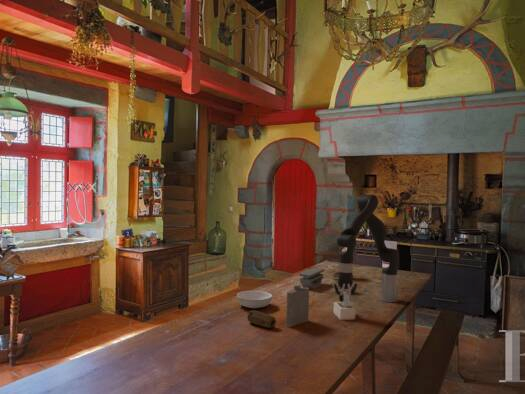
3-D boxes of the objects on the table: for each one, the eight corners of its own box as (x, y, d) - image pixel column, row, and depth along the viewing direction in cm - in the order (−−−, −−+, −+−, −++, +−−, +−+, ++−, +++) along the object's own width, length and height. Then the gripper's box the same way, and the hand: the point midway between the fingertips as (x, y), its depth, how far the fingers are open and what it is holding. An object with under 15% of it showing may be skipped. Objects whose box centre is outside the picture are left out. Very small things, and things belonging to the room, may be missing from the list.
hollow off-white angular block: (347, 312, 227) (348, 301, 227) (355, 319, 215) (355, 308, 215) (333, 312, 226) (333, 302, 226) (340, 319, 214) (340, 308, 214)
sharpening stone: (309, 291, 271) (309, 275, 271) (298, 289, 275) (299, 273, 275) (323, 283, 292) (324, 269, 292) (313, 282, 297) (314, 267, 296)
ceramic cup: (329, 292, 270) (330, 277, 270) (333, 288, 279) (333, 274, 279) (349, 294, 265) (349, 279, 265) (351, 291, 274) (352, 276, 274)
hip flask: (289, 327, 200) (290, 288, 199) (283, 325, 203) (284, 286, 202) (309, 320, 211) (310, 283, 211) (303, 318, 214) (304, 282, 213)
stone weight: (245, 324, 203) (245, 311, 203) (252, 320, 209) (253, 308, 209) (270, 330, 195) (270, 317, 195) (277, 326, 201) (277, 313, 201)
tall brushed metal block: (345, 308, 224) (345, 291, 224) (349, 312, 217) (350, 294, 217) (339, 308, 224) (339, 291, 224) (343, 312, 217) (344, 294, 217)
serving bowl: (279, 306, 235) (279, 295, 235) (254, 314, 220) (254, 302, 219) (253, 299, 249) (254, 288, 249) (229, 305, 234) (229, 294, 234)
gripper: (355, 269, 225) (354, 299, 225) (331, 269, 223) (330, 299, 223) (360, 272, 217) (359, 303, 218) (335, 272, 215) (334, 303, 216)
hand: (344, 301), depth 220 cm, fingers closed on tall brushed metal block, 3 cm apart
